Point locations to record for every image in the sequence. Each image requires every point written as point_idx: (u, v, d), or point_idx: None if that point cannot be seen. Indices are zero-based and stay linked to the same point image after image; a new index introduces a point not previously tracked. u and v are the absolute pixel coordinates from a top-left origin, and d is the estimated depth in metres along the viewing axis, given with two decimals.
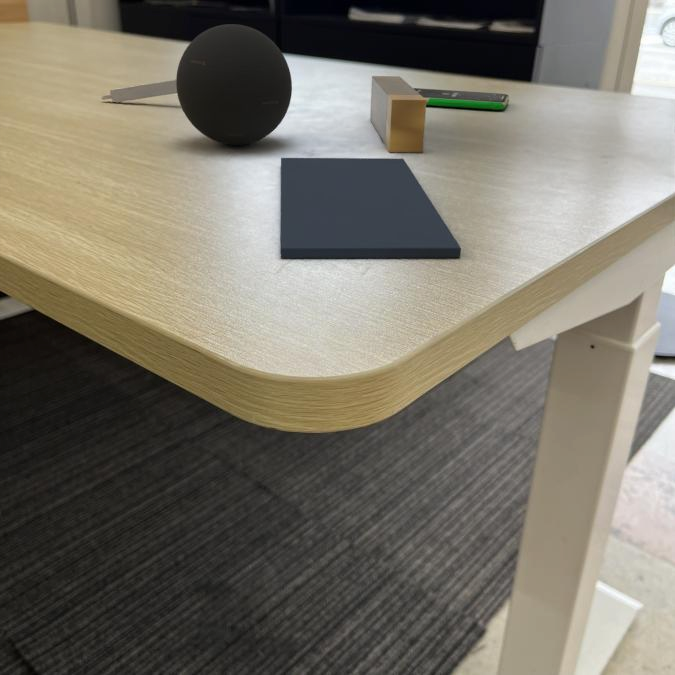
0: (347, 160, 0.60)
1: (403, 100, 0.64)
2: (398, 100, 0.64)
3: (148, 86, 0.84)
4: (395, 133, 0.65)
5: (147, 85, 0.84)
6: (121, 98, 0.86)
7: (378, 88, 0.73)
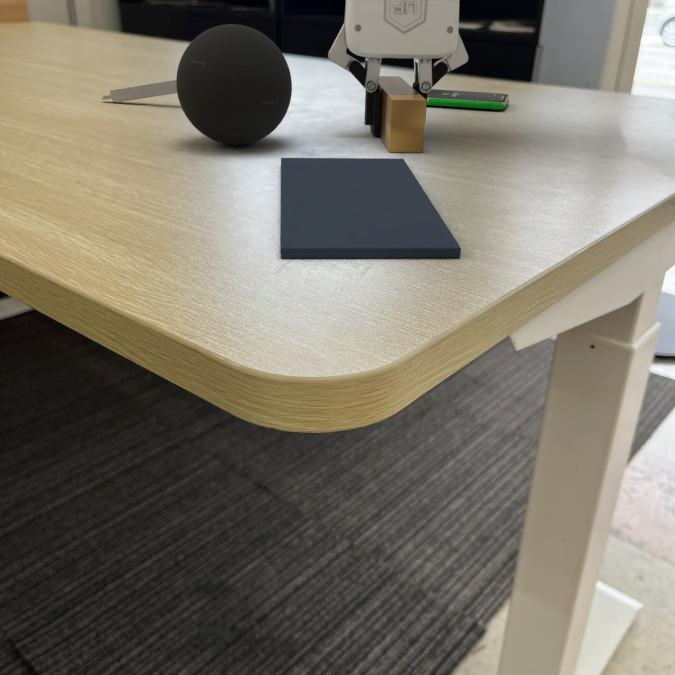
0: (347, 160, 0.60)
1: (403, 100, 0.64)
2: (398, 100, 0.64)
3: (148, 86, 0.84)
4: (395, 133, 0.65)
5: (147, 85, 0.84)
6: (121, 98, 0.86)
7: None
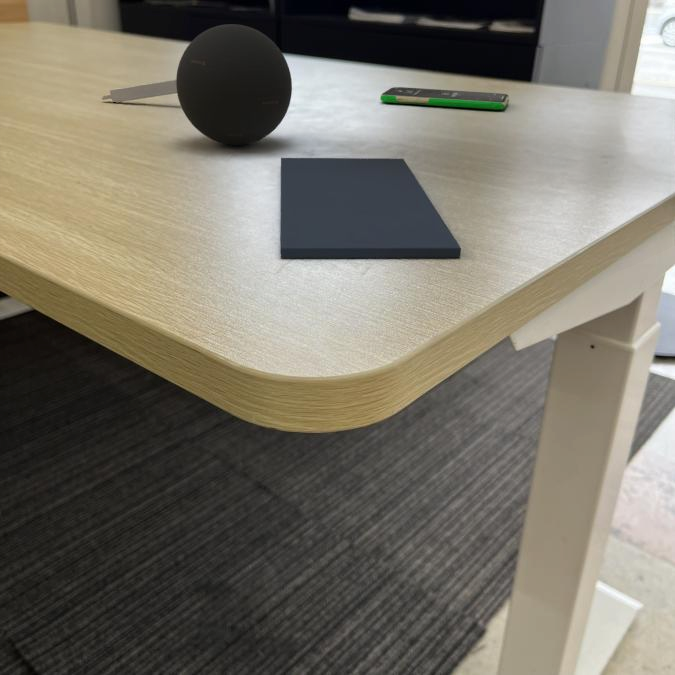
0: (347, 160, 0.60)
1: None
2: None
3: (148, 86, 0.84)
4: None
5: (147, 85, 0.84)
6: (121, 99, 0.86)
7: None
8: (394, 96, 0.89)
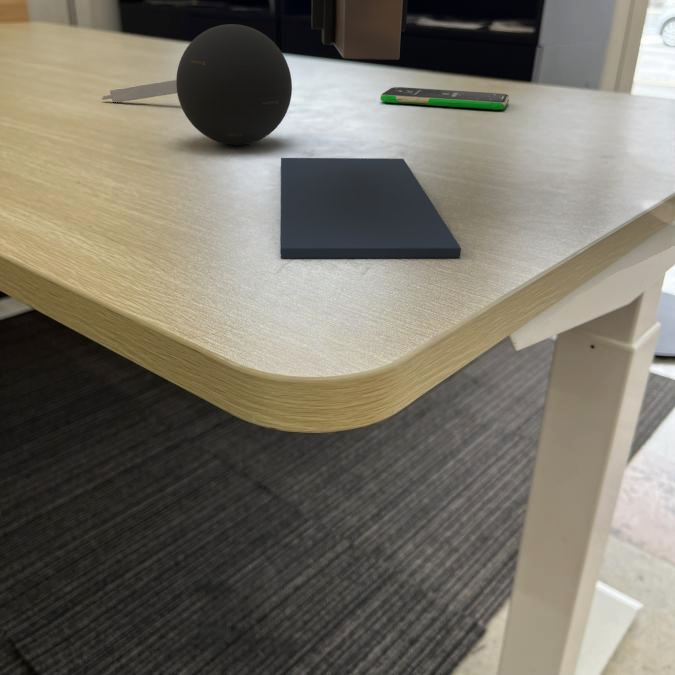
0: (347, 160, 0.60)
1: None
2: None
3: (148, 86, 0.84)
4: None
5: (147, 85, 0.84)
6: (121, 99, 0.86)
7: None
8: (394, 96, 0.89)
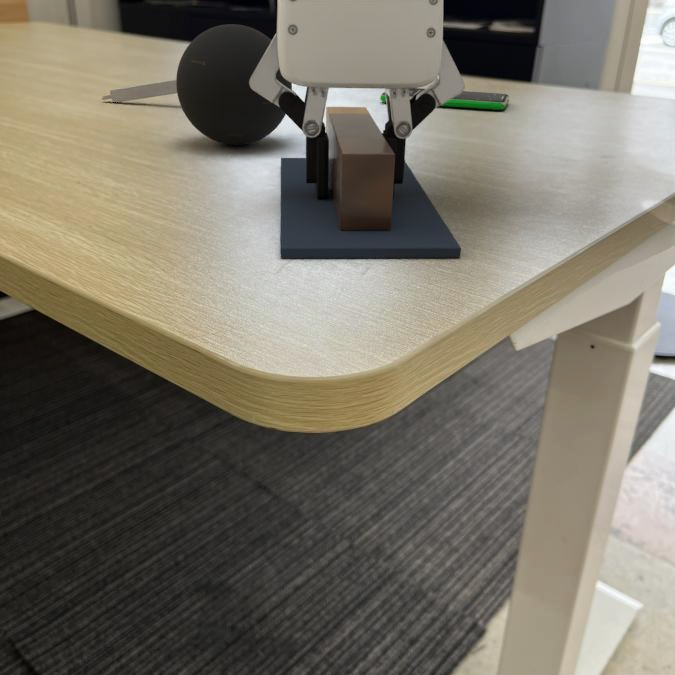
0: None
1: (352, 108, 0.56)
2: (358, 108, 0.56)
3: (148, 87, 0.84)
4: None
5: (147, 85, 0.84)
6: (121, 99, 0.86)
7: None
8: None
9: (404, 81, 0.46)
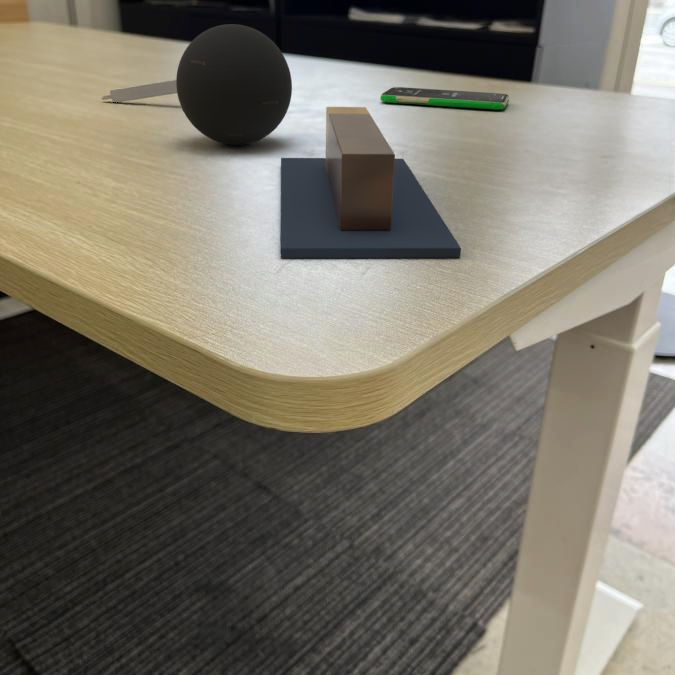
0: None
1: (352, 108, 0.56)
2: (358, 108, 0.56)
3: (148, 86, 0.84)
4: None
5: (147, 85, 0.84)
6: (121, 99, 0.86)
7: None
8: (394, 96, 0.89)
9: None
